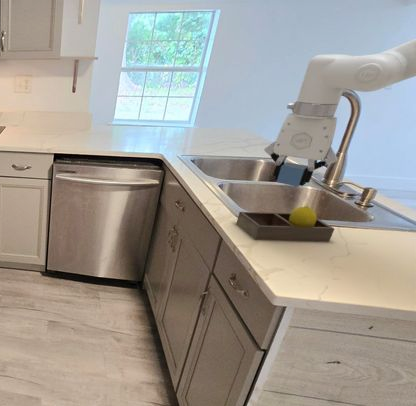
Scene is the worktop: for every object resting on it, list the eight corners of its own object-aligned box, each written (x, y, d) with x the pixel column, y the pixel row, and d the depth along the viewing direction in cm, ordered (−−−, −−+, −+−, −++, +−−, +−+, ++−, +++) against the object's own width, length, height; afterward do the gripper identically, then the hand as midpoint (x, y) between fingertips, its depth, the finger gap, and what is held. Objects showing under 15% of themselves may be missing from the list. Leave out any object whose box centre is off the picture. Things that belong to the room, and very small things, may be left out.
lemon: (298, 238, 99) (308, 211, 96) (280, 228, 104) (288, 203, 101) (316, 236, 100) (326, 209, 97) (296, 227, 105) (306, 201, 102)
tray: (328, 243, 97) (334, 228, 96) (254, 241, 100) (258, 226, 98) (303, 227, 106) (308, 213, 104) (235, 225, 108) (239, 211, 106)
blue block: (303, 182, 94) (309, 165, 92) (298, 186, 91) (304, 169, 89) (281, 178, 97) (286, 162, 95) (276, 182, 94) (281, 165, 93)
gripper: (266, 108, 91) (246, 177, 98) (360, 116, 79) (329, 194, 86) (276, 104, 95) (256, 171, 102) (366, 112, 83) (336, 186, 90)
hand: (290, 181), depth 94 cm, fingers closed on blue block, 4 cm apart
